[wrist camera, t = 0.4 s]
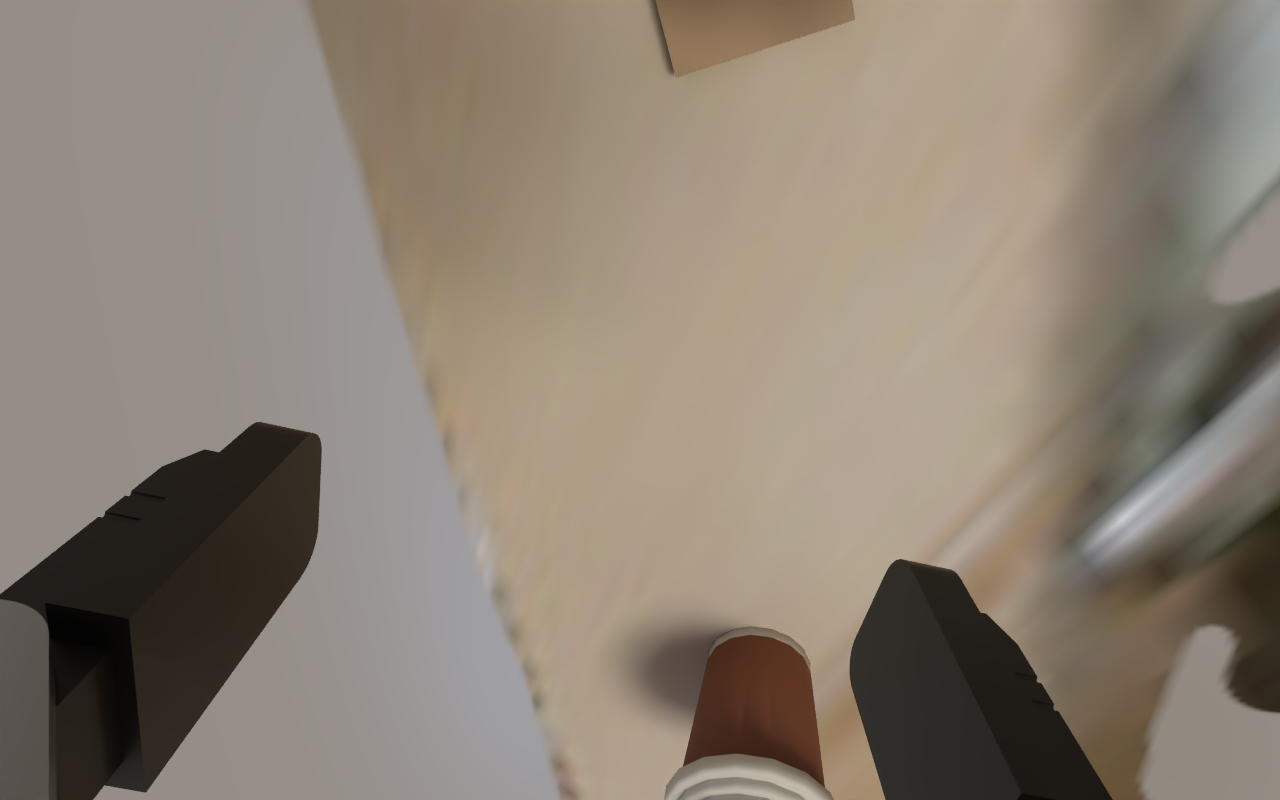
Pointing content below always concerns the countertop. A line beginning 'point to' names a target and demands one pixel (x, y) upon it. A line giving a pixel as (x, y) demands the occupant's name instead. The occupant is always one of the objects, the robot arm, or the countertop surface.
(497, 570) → the countertop surface
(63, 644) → the robot arm
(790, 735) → the coffee cup
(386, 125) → the countertop surface
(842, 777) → the countertop surface
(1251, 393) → the countertop surface
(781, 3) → the walnut pad
